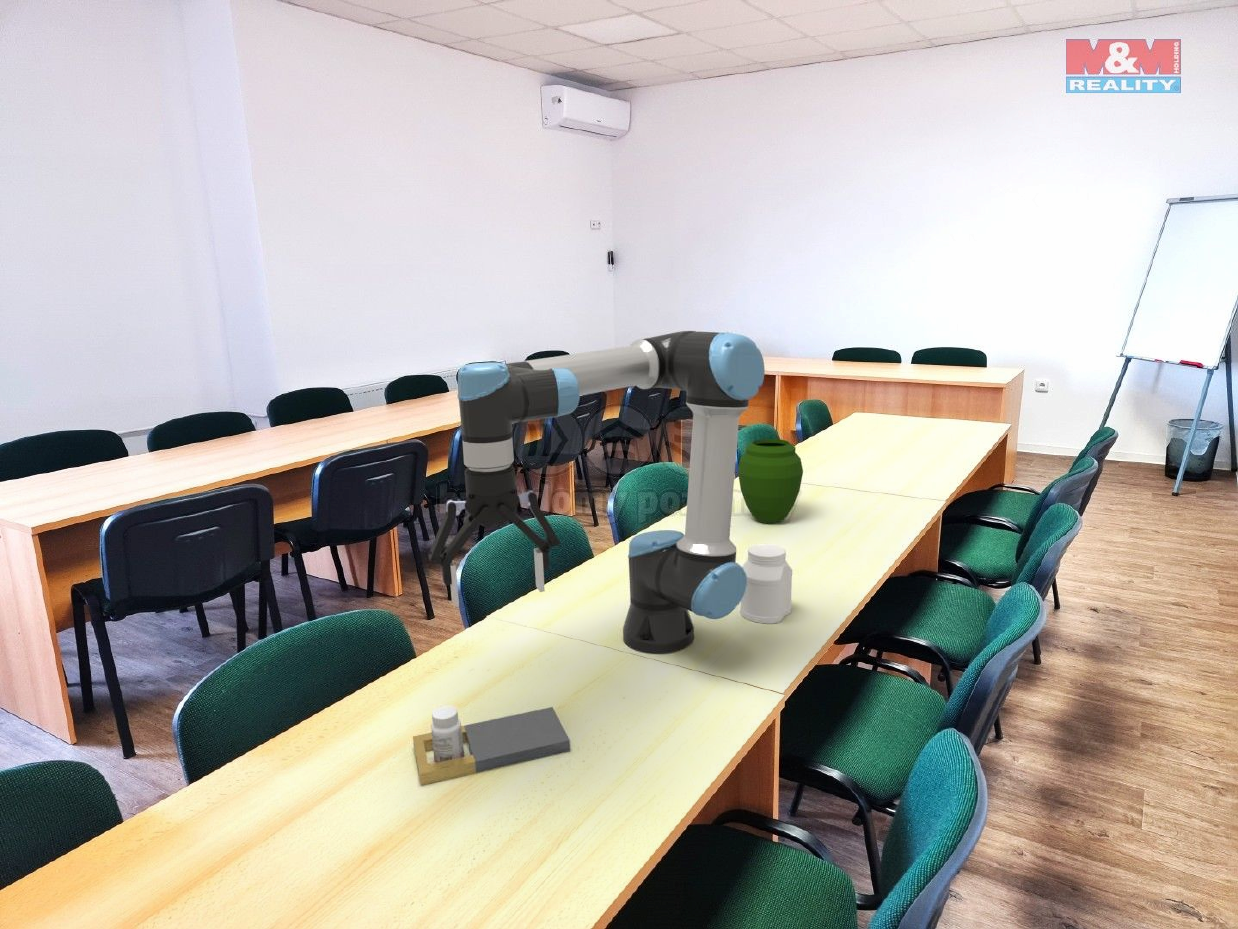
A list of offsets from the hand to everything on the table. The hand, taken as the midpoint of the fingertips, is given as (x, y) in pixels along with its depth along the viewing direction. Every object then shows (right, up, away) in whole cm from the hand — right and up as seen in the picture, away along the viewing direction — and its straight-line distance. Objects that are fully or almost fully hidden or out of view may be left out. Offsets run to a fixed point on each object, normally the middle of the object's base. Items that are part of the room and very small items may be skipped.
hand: (498, 595), depth 126 cm
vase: (+65, +4, +119) cm, 136 cm away
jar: (+52, -13, +54) cm, 76 cm away
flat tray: (-2, -26, +5) cm, 27 cm away
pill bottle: (-9, -27, +3) cm, 29 cm away
